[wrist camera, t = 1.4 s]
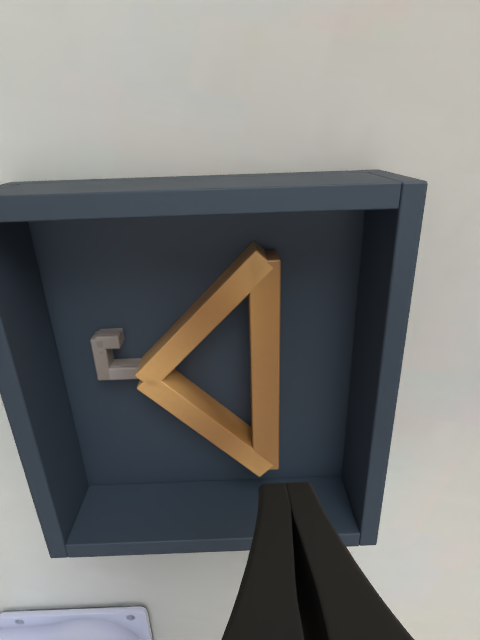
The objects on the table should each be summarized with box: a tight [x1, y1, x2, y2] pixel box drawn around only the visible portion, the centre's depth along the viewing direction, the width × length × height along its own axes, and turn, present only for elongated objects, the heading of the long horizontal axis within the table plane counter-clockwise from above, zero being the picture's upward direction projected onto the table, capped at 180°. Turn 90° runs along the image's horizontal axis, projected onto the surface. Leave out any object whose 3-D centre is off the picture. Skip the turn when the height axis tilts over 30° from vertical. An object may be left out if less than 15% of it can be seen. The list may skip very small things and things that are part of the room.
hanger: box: [90, 241, 281, 477], centre depth 18 cm, size 8×11×2 cm
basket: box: [0, 170, 427, 558], centre depth 18 cm, size 15×16×4 cm
